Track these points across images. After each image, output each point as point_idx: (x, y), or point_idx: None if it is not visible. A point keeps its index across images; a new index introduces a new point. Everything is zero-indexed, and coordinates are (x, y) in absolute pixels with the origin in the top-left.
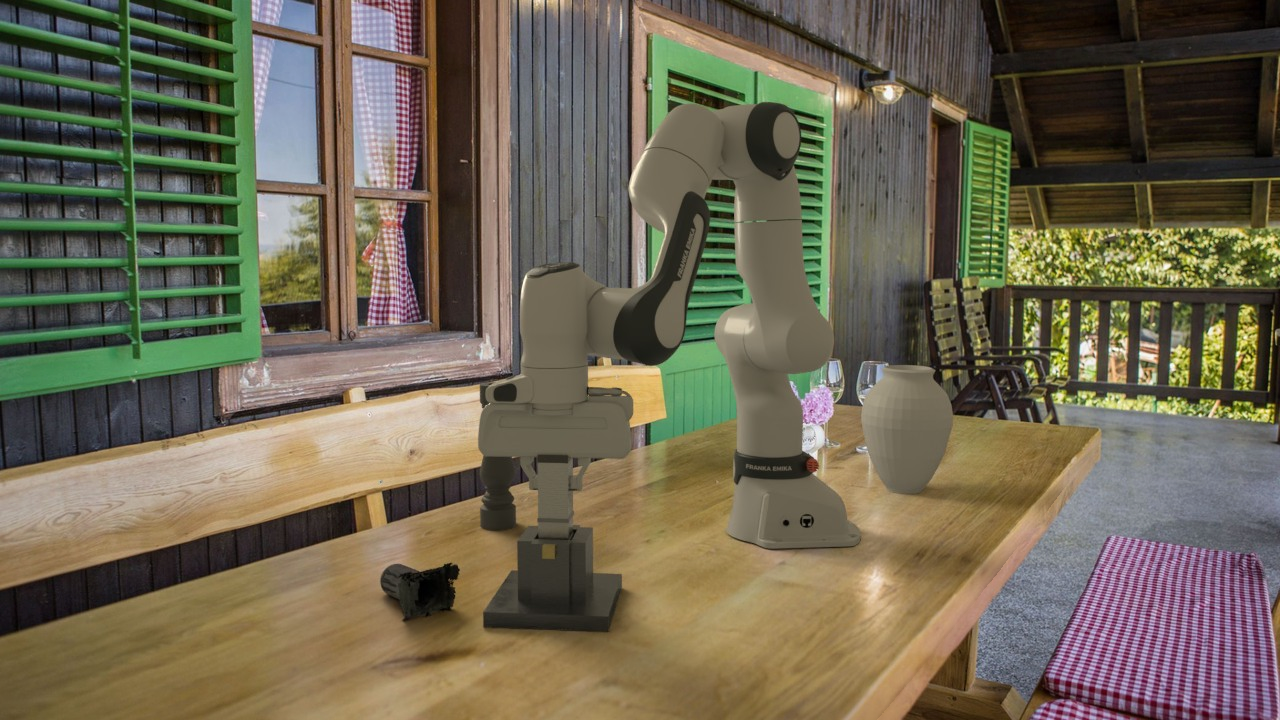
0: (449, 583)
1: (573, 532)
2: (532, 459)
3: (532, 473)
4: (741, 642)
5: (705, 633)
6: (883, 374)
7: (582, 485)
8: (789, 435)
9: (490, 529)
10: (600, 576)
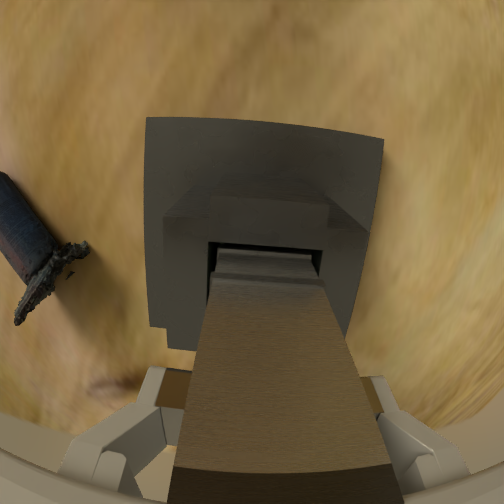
0: (64, 248)
1: (310, 257)
2: (130, 487)
3: (153, 447)
4: (470, 335)
5: (449, 318)
6: None
7: (385, 379)
8: None
9: None
10: (342, 151)
